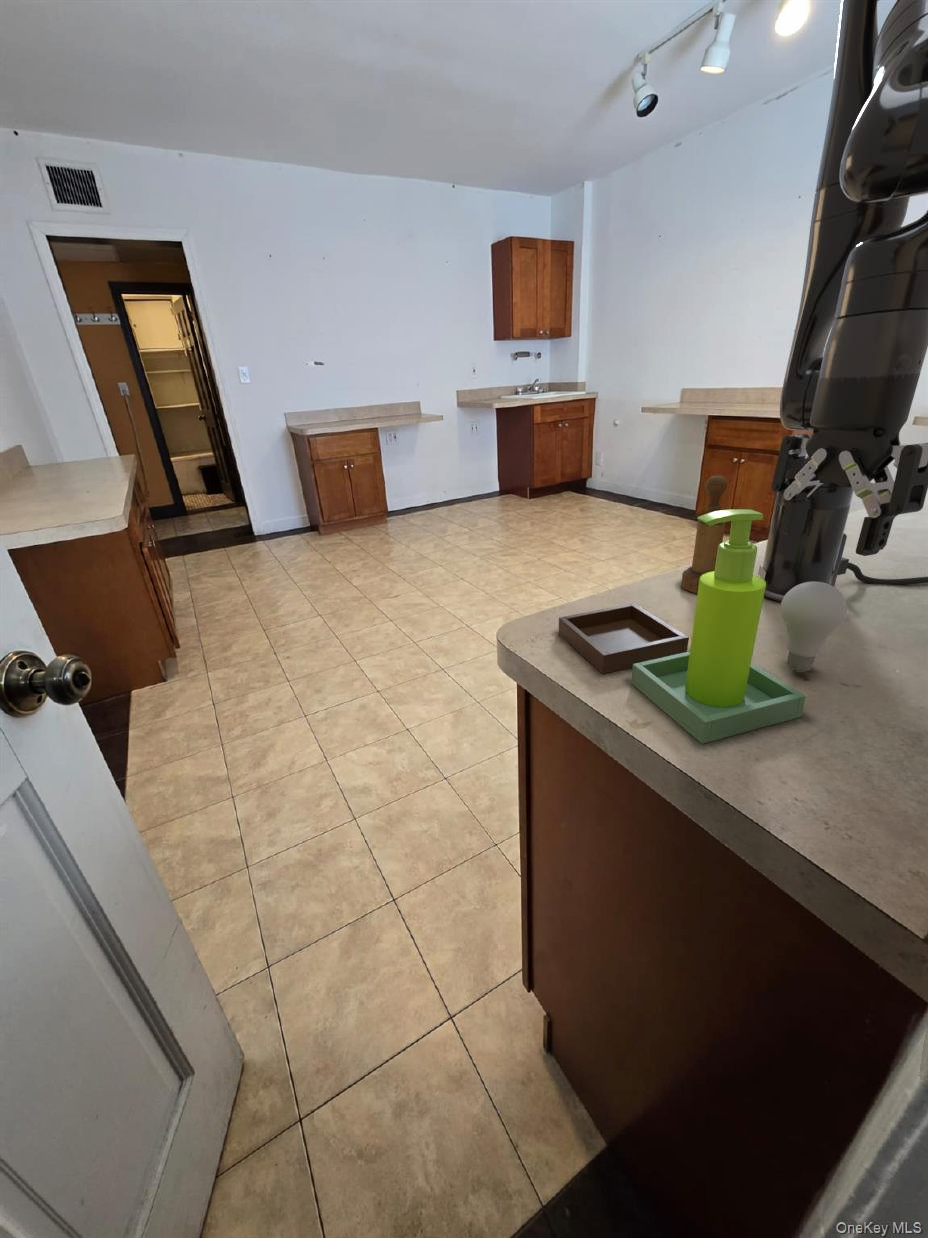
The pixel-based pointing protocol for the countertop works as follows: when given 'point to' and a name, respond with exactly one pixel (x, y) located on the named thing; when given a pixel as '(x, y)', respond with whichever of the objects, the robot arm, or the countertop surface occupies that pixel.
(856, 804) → the countertop surface
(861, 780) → the countertop surface
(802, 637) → the lightbulb
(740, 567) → the soap dispenser
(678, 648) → the walnut tray
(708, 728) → the green tray
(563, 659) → the countertop surface
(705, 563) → the wooden pepper mill
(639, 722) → the countertop surface
